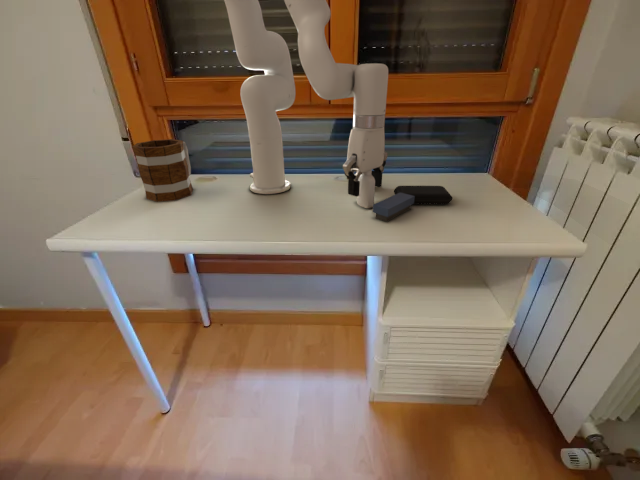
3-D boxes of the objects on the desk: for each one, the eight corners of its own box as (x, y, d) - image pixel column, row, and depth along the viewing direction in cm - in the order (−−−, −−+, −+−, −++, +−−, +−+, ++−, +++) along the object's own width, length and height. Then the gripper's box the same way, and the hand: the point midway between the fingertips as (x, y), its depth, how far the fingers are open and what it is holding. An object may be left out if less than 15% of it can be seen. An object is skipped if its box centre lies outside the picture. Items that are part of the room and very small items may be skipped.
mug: (178, 202, 90) (166, 148, 83) (135, 200, 92) (120, 148, 85) (210, 182, 107) (202, 136, 100) (174, 180, 109) (163, 135, 102)
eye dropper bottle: (372, 201, 88) (375, 158, 83) (373, 209, 83) (376, 163, 78) (356, 201, 89) (358, 158, 83) (357, 208, 84) (359, 163, 78)
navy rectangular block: (387, 223, 75) (388, 209, 74) (372, 218, 78) (372, 204, 76) (413, 209, 83) (415, 196, 81) (398, 205, 86) (399, 192, 84)
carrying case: (442, 193, 94) (391, 192, 95) (444, 182, 92) (392, 182, 93) (453, 206, 84) (397, 205, 85) (455, 195, 83) (398, 195, 84)
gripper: (377, 117, 84) (372, 180, 92) (333, 124, 73) (332, 195, 81) (401, 119, 80) (395, 185, 87) (358, 128, 69) (355, 202, 77)
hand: (365, 190), depth 84 cm, fingers open, 9 cm apart
